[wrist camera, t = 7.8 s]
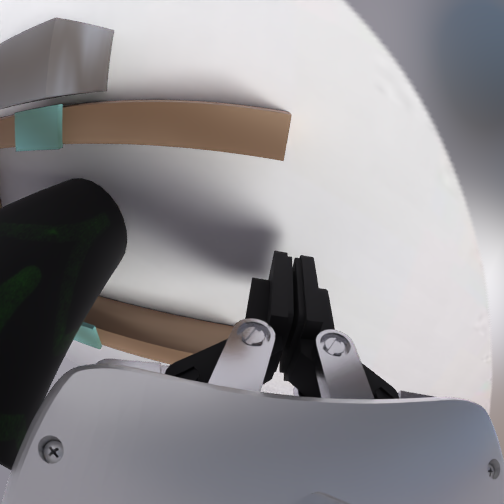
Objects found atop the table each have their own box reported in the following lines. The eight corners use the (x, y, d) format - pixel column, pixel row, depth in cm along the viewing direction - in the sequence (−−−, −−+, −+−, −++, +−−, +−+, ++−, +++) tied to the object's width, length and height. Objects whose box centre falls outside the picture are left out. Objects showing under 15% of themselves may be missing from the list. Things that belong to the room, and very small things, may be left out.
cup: (44, 261, 15) (-64, 389, 5) (39, 149, 11) (-139, 260, 1) (141, 302, 15) (46, 489, 5) (154, 176, 12) (-75, 406, 1)
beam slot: (245, 346, 17) (237, 402, 13) (14, 283, 17) (-13, 312, 13) (302, 31, 8) (313, -3, 5) (-16, 74, 8) (-60, 84, 5)
